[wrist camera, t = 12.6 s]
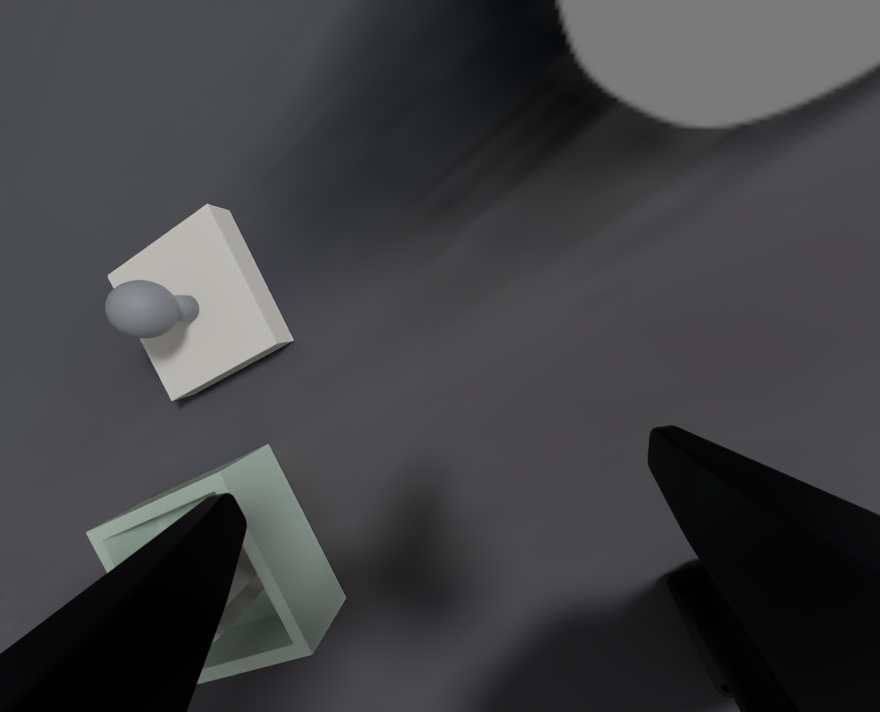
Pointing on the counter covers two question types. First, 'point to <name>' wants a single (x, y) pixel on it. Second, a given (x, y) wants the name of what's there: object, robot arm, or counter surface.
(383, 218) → the counter surface
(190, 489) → the tray
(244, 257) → the stud plate
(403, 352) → the counter surface
